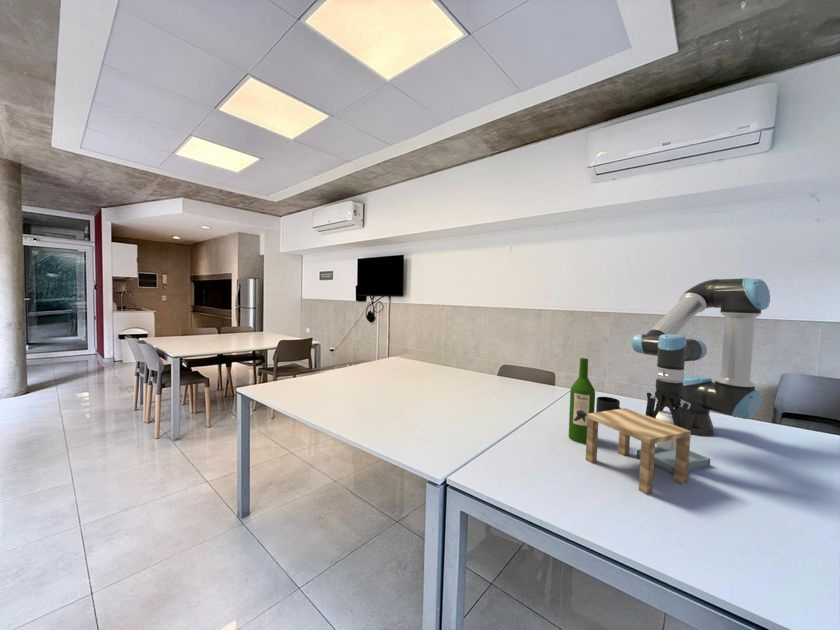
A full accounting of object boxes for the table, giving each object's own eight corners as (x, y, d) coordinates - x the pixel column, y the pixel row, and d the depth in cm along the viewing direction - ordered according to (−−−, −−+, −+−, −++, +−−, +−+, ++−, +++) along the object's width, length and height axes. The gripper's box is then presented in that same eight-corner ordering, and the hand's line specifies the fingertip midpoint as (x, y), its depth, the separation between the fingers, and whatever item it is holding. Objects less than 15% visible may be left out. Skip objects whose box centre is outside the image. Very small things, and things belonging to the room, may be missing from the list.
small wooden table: (622, 451, 126) (625, 408, 125) (687, 483, 106) (690, 431, 105) (585, 459, 120) (587, 413, 119) (646, 494, 99) (649, 439, 98)
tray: (670, 449, 129) (670, 442, 128) (709, 465, 117) (710, 458, 116) (636, 456, 122) (636, 450, 122) (674, 475, 110) (674, 467, 110)
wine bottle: (568, 441, 135) (572, 359, 133) (568, 432, 143) (571, 355, 141) (594, 445, 131) (597, 361, 129) (591, 436, 140) (595, 357, 138)
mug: (616, 425, 151) (617, 405, 151) (591, 416, 162) (592, 398, 161) (628, 422, 156) (629, 402, 155) (603, 413, 166) (604, 395, 166)
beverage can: (670, 452, 113) (672, 417, 113) (650, 445, 119) (652, 411, 118) (680, 449, 116) (682, 414, 116) (660, 442, 122) (662, 409, 121)
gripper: (635, 374, 124) (631, 436, 125) (693, 388, 106) (688, 460, 107) (649, 373, 126) (645, 433, 128) (708, 386, 108) (703, 457, 110)
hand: (665, 446), depth 118 cm, fingers closed on beverage can, 6 cm apart
